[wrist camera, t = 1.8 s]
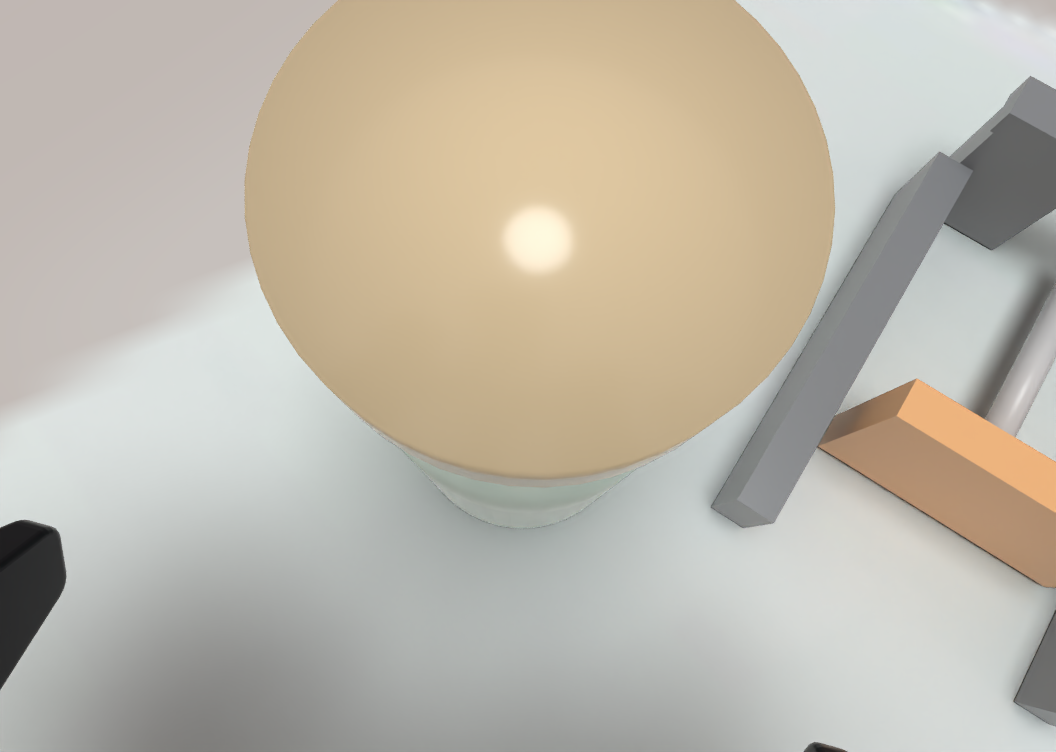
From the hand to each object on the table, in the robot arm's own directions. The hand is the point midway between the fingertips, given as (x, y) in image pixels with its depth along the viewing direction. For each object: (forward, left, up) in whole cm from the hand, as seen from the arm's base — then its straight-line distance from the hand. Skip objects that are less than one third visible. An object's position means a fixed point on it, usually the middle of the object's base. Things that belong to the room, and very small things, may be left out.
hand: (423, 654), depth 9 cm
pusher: (+10, -11, -12) cm, 19 cm away
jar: (+5, +1, -12) cm, 13 cm away
